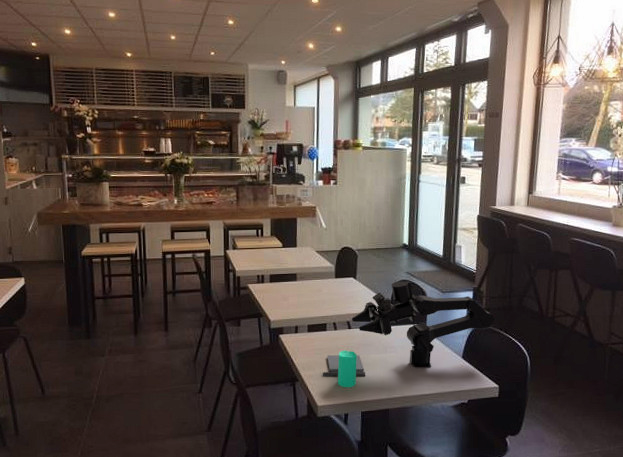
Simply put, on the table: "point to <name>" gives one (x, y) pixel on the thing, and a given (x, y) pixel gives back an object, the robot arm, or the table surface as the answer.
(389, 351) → the table surface
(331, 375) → the dark grey bar
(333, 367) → the slate coaster
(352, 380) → the candle
